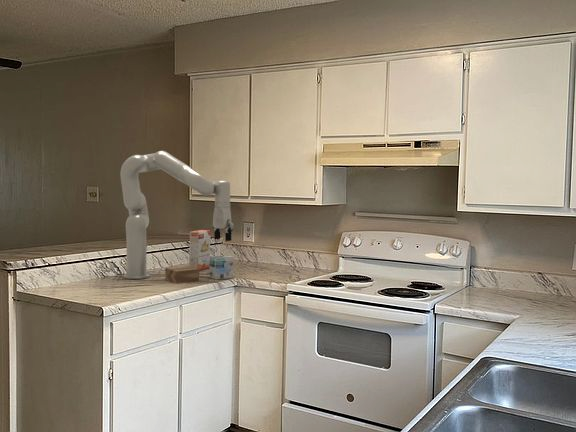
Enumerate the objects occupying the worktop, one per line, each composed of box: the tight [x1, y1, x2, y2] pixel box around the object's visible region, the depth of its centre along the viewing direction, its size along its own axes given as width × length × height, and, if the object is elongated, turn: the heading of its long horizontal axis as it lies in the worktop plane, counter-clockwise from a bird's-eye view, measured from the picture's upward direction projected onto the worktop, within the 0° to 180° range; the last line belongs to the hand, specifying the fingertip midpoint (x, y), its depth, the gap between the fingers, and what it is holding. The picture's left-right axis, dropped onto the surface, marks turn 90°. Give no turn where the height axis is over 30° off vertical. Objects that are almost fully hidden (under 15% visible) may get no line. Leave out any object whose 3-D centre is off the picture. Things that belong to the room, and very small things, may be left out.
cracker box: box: [188, 229, 211, 271], centre depth 324 cm, size 14×6×21 cm, turn 161°
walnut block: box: [164, 265, 200, 284], centre depth 288 cm, size 12×12×6 cm
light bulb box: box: [208, 254, 235, 280], centre depth 298 cm, size 11×7×11 cm, turn 127°
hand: (222, 240), depth 297 cm, fingers open, 9 cm apart
